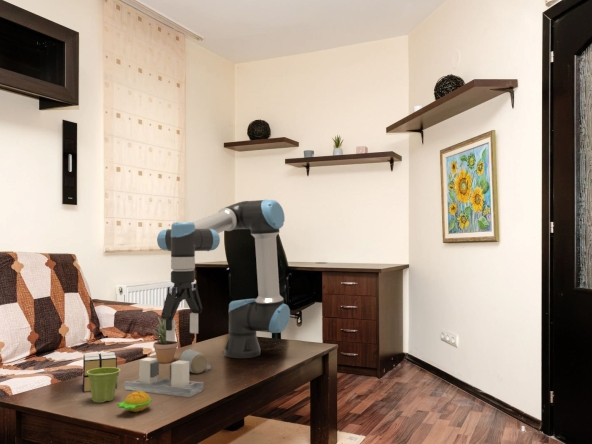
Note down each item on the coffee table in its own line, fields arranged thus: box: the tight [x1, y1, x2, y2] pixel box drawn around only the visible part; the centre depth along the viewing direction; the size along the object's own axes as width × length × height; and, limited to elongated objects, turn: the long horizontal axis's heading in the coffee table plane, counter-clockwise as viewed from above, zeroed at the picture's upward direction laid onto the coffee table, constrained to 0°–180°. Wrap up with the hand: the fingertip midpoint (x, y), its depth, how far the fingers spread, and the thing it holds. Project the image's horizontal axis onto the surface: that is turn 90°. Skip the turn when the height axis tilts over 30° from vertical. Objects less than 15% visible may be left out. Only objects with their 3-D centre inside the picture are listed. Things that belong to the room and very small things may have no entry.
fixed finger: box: [138, 357, 160, 384], centre depth 163 cm, size 4×5×8 cm
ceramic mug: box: [179, 348, 212, 374], centre depth 185 cm, size 11×8×8 cm
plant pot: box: [87, 367, 121, 403], centre depth 151 cm, size 9×9×9 cm
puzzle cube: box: [82, 351, 118, 393], centre depth 165 cm, size 10×10×10 cm
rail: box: [124, 377, 204, 398], centre depth 161 cm, size 8×24×2 cm, turn 70°
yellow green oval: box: [116, 391, 152, 413], centre depth 140 cm, size 7×10×5 cm
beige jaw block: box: [169, 359, 190, 387], centre depth 160 cm, size 4×5×8 cm
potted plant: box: [152, 298, 179, 364], centre depth 202 cm, size 10×10×25 cm
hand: (182, 336), depth 161 cm, fingers open, 13 cm apart
